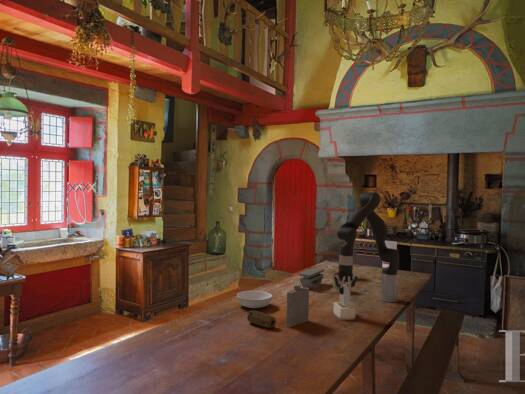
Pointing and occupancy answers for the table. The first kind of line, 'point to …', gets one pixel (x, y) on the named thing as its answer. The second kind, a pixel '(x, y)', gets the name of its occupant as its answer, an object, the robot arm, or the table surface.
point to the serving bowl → (254, 299)
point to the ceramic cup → (335, 284)
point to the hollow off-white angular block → (344, 311)
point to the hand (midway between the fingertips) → (344, 294)
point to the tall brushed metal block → (345, 295)
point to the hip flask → (297, 306)
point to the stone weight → (261, 319)
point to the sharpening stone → (311, 278)
